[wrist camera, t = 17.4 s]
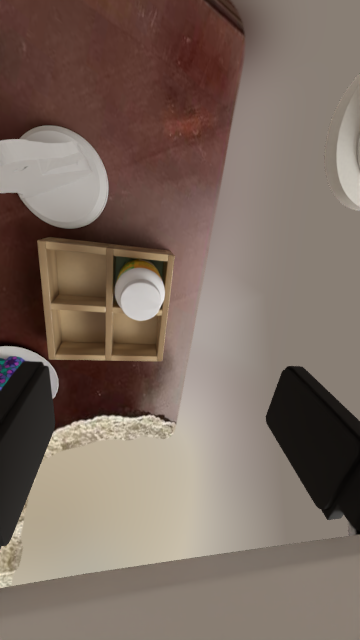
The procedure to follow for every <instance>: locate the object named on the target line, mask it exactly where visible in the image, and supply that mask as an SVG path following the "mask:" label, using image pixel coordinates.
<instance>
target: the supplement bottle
mask: <svg viewBox="0 0 360 640" xmlns="http://www.w3.org/2000/svg"><path fill="white" fill-rule="evenodd" d="M164 297H165V288H164V284H163V282H162V279H161V277H160V274H159V271H158V269H157V268H156V266H155V265H154V264H153V263H152V262H150V261H149V260H146V259H139V258H135V259H131V260H129V261H127V262H126V263H125V264H124V265H123V266H122V268H121V269H120V272H119V275H118V278H117V282H116V286H115V298H116V301H117V303H118V305H119V306H120V307H121V309H122V310H123V312H124V313H125V314H126V315H127V316H128V317H130V318H131V319H134V320H138V321H144V320H148V319H151V318H152V317H154V316H155V315H156V314H157V313H158V311H159V309H160V307H161V305H162V303H163V301H164Z"/></svg>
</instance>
